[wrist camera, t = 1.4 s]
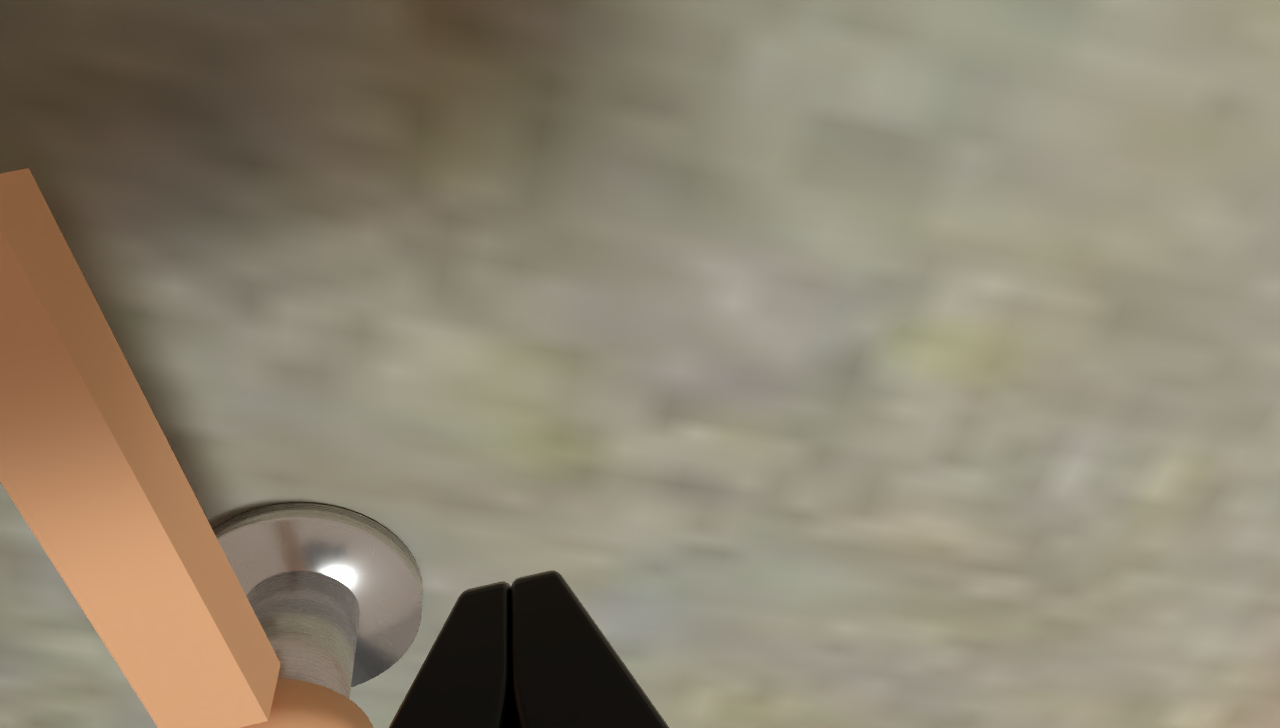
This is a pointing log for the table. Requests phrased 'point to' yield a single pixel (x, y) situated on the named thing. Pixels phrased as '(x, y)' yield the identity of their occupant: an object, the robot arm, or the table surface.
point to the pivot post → (326, 590)
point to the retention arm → (124, 501)
